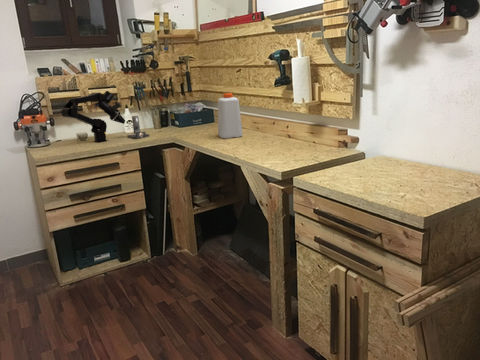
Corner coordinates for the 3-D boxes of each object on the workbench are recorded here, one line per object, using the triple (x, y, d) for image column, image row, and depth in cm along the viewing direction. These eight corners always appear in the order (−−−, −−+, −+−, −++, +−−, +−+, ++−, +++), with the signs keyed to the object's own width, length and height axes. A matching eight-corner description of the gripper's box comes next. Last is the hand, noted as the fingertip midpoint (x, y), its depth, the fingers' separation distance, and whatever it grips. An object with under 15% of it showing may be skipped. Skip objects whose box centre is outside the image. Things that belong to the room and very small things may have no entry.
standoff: (135, 134, 276) (133, 116, 272) (132, 133, 279) (130, 116, 275) (141, 133, 278) (139, 116, 275) (138, 132, 281) (136, 115, 278)
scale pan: (135, 136, 273) (135, 134, 273) (129, 134, 279) (129, 133, 279) (145, 134, 279) (145, 132, 278) (139, 132, 284) (139, 131, 284)
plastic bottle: (238, 133, 274) (236, 92, 265) (244, 137, 260) (242, 93, 251) (217, 135, 270) (214, 93, 262) (221, 139, 256) (219, 95, 248)
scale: (136, 139, 270) (135, 133, 269) (127, 137, 279) (126, 131, 278) (150, 136, 277) (149, 130, 276) (141, 134, 286) (140, 129, 285)
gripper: (112, 99, 259) (131, 115, 265) (114, 97, 277) (132, 111, 282) (101, 112, 260) (121, 127, 266) (104, 109, 278) (122, 123, 283)
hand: (124, 122), depth 274 cm, fingers open, 9 cm apart
